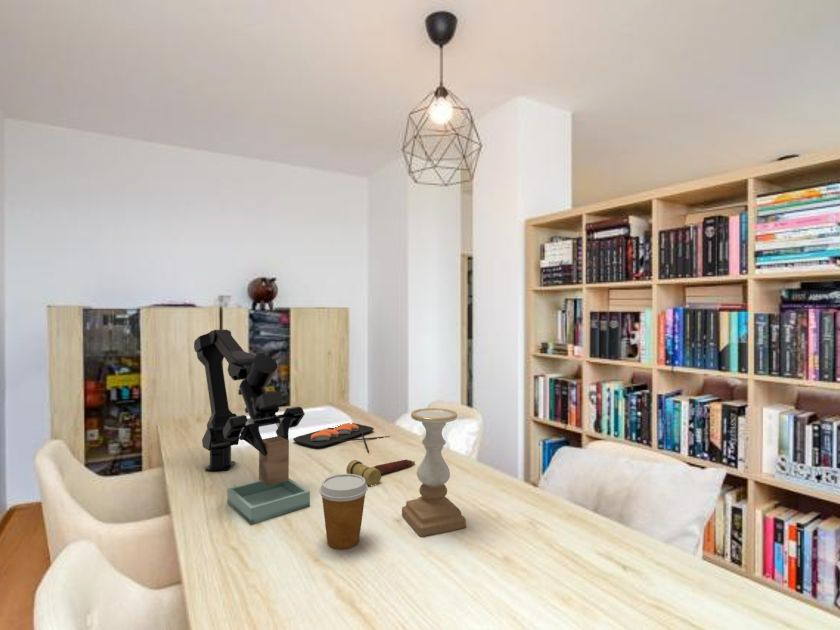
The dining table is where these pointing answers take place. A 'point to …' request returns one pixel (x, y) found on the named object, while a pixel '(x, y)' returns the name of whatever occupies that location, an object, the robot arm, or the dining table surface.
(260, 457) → the walnut block
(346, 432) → the sushi plate
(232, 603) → the dining table surface
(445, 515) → the candle holder
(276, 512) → the box
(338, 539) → the disposable coffee cup
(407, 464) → the gavel
